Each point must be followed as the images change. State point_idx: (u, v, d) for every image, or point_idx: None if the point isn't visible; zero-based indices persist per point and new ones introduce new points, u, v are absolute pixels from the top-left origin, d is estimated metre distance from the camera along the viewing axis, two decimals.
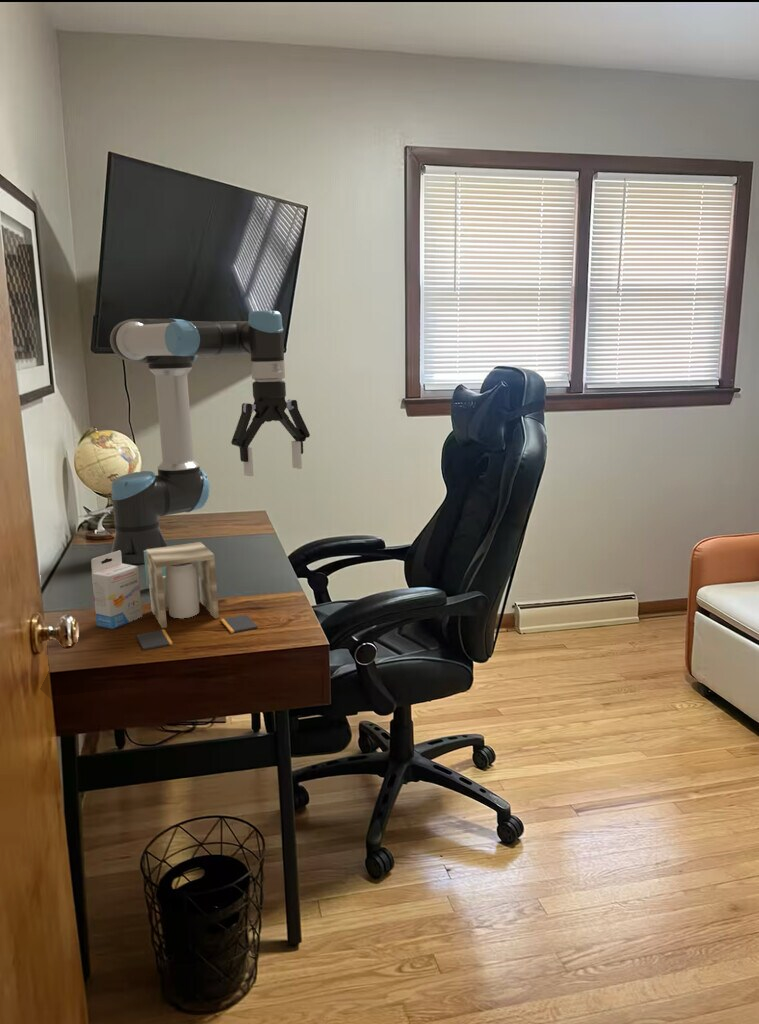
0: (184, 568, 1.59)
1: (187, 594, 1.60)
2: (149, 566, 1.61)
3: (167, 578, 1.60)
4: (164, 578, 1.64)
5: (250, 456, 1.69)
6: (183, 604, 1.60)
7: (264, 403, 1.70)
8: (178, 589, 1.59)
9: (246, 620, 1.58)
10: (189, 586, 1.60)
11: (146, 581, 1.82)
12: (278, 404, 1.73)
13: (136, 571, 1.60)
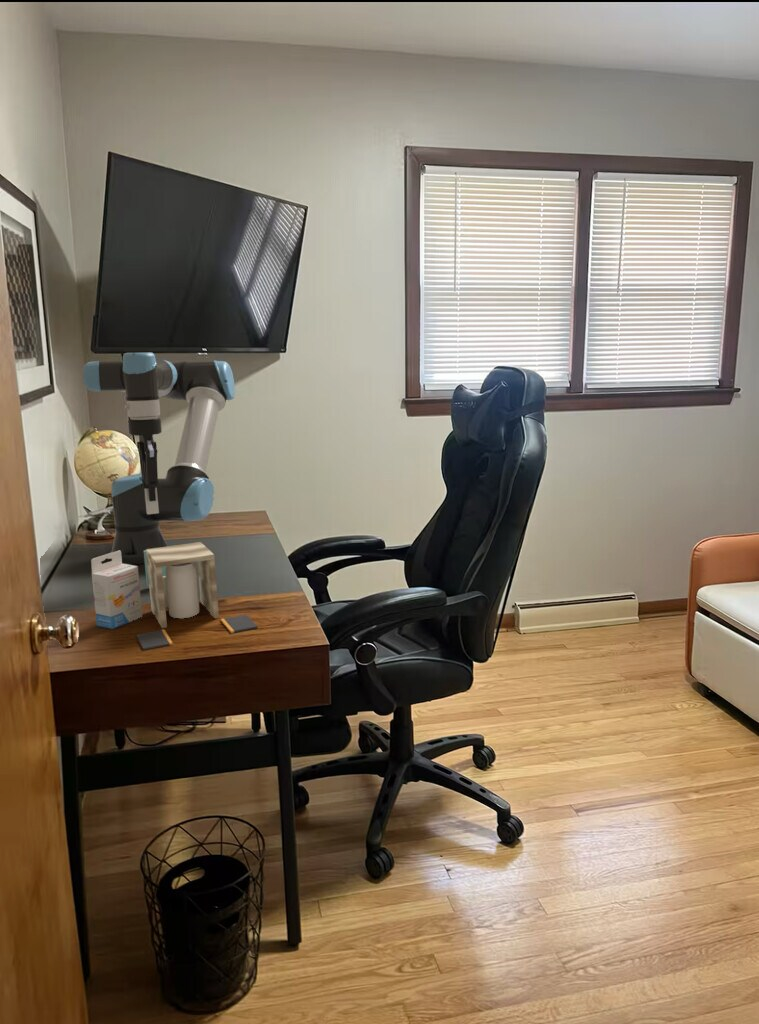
0: (184, 568, 1.59)
1: (187, 594, 1.60)
2: (149, 566, 1.61)
3: (167, 578, 1.60)
4: (164, 578, 1.64)
5: (145, 495, 1.84)
6: (183, 604, 1.60)
7: (139, 436, 1.83)
8: (178, 589, 1.59)
9: (246, 620, 1.58)
10: (189, 586, 1.60)
11: (146, 581, 1.82)
12: (142, 438, 1.79)
13: (136, 571, 1.60)
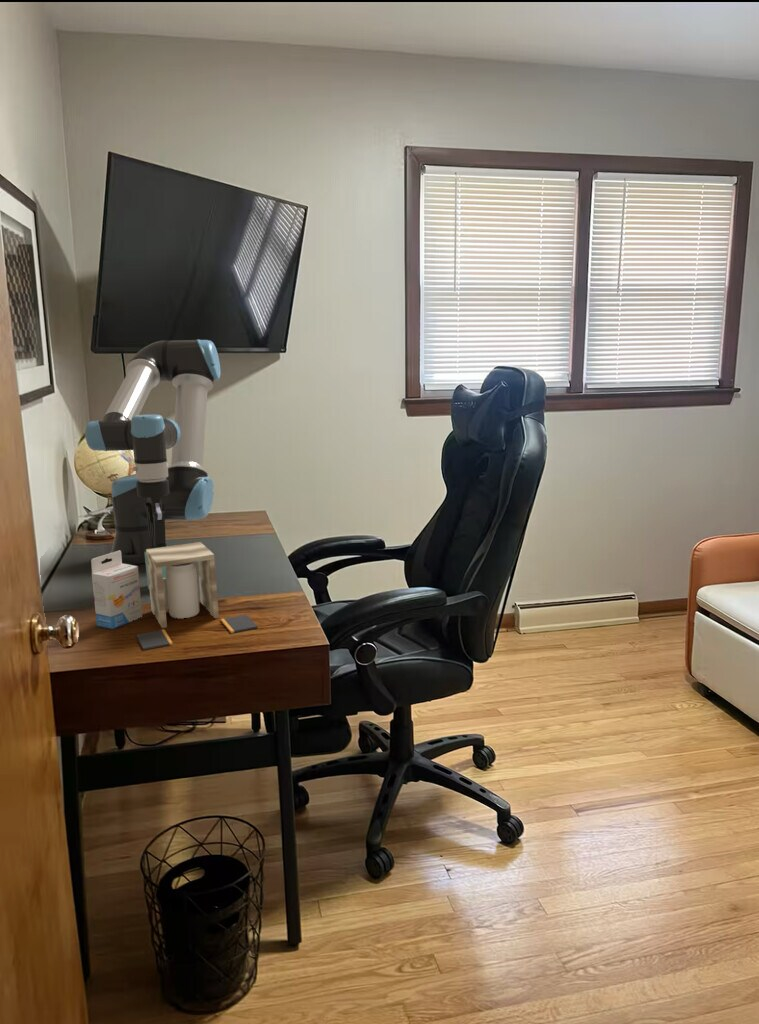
0: (184, 568, 1.59)
1: (187, 594, 1.60)
2: (149, 566, 1.61)
3: (167, 578, 1.60)
4: (165, 579, 1.63)
5: None
6: (183, 604, 1.60)
7: None
8: (178, 589, 1.59)
9: (246, 620, 1.58)
10: (189, 586, 1.60)
11: (147, 582, 1.81)
12: (150, 500, 1.79)
13: (136, 571, 1.60)
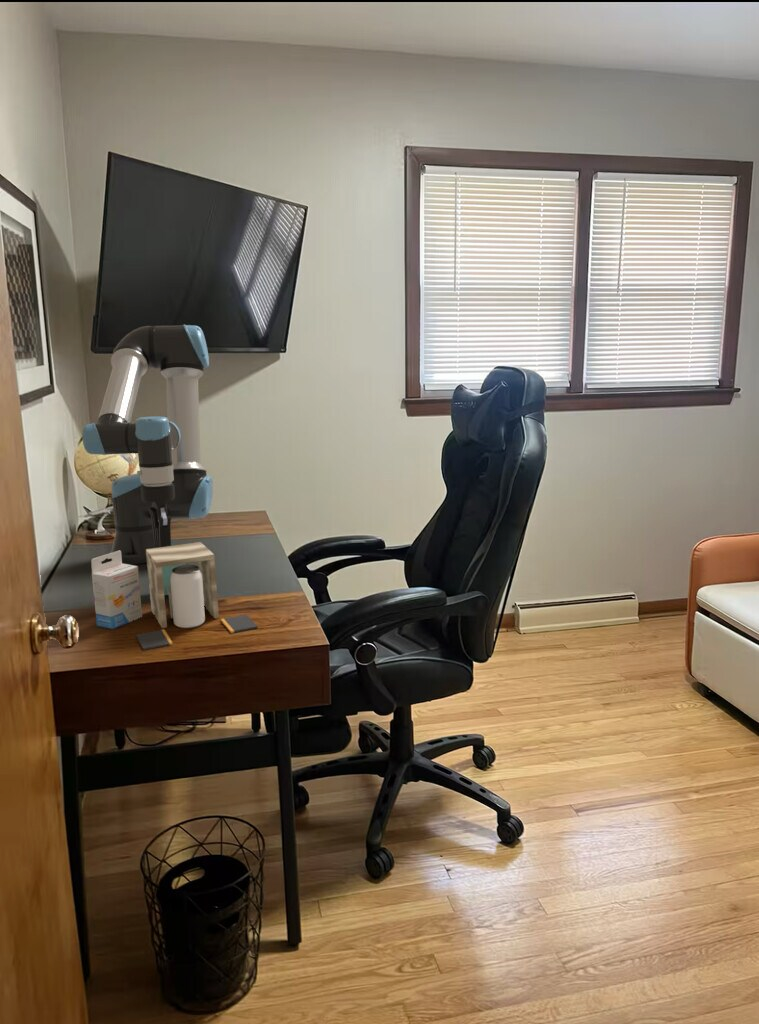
0: (188, 577, 1.53)
1: (191, 603, 1.54)
2: (149, 566, 1.61)
3: (171, 586, 1.54)
4: None
5: None
6: (186, 613, 1.54)
7: (152, 501, 1.77)
8: (182, 598, 1.53)
9: (246, 620, 1.58)
10: (193, 595, 1.54)
11: None
12: (155, 505, 1.73)
13: (136, 571, 1.60)
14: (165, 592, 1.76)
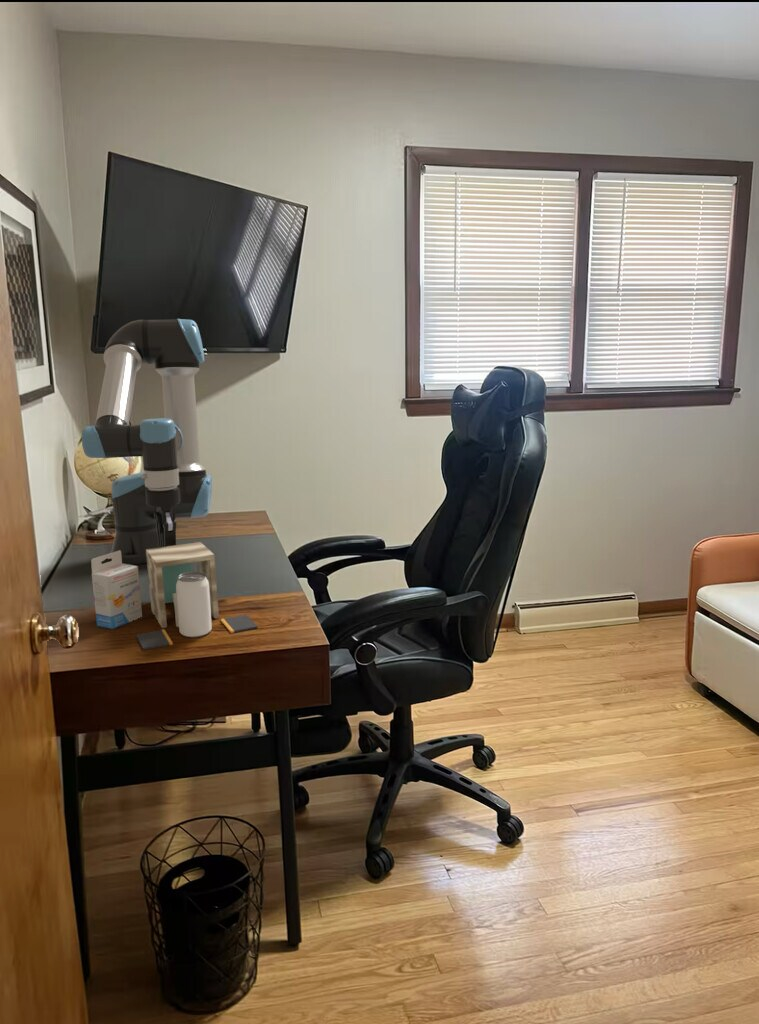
0: (194, 584, 1.48)
1: (197, 611, 1.49)
2: (149, 566, 1.61)
3: (177, 593, 1.49)
4: None
5: None
6: (192, 622, 1.49)
7: None
8: (188, 606, 1.48)
9: (246, 620, 1.58)
10: (199, 603, 1.49)
11: None
12: (160, 509, 1.68)
13: (136, 571, 1.60)
14: (170, 599, 1.71)
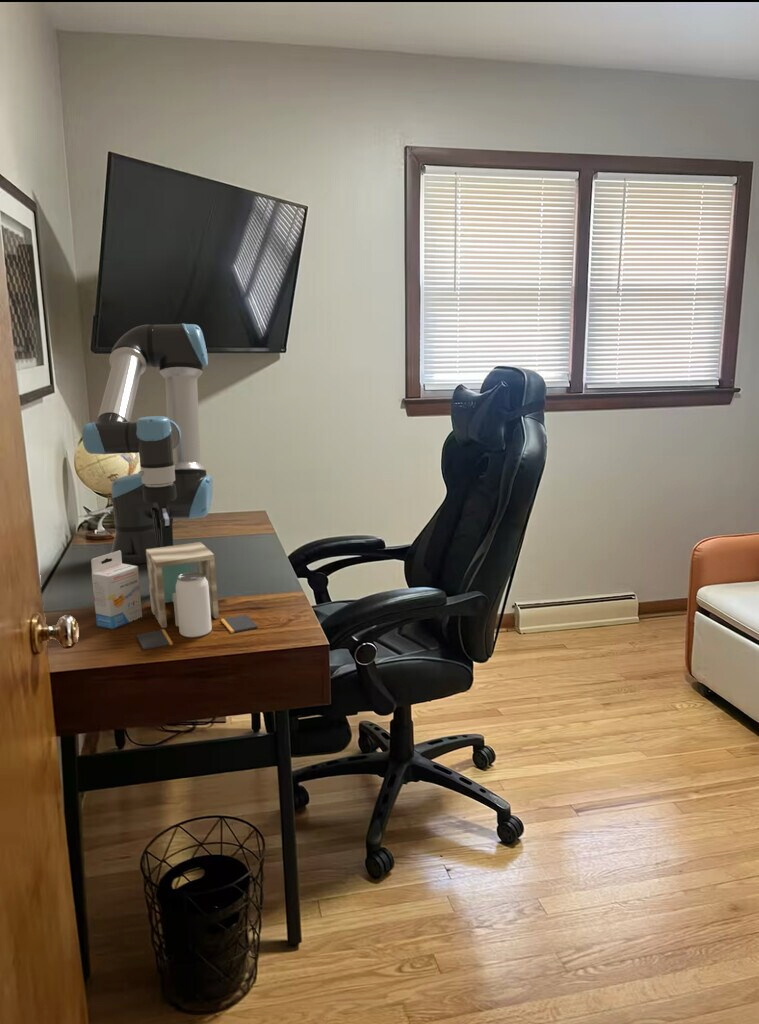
0: (193, 584, 1.48)
1: (197, 611, 1.49)
2: (149, 566, 1.61)
3: (177, 593, 1.50)
4: None
5: None
6: (192, 622, 1.49)
7: None
8: (187, 606, 1.49)
9: (246, 620, 1.58)
10: (199, 602, 1.49)
11: None
12: (157, 505, 1.72)
13: (136, 571, 1.60)
14: (170, 598, 1.71)
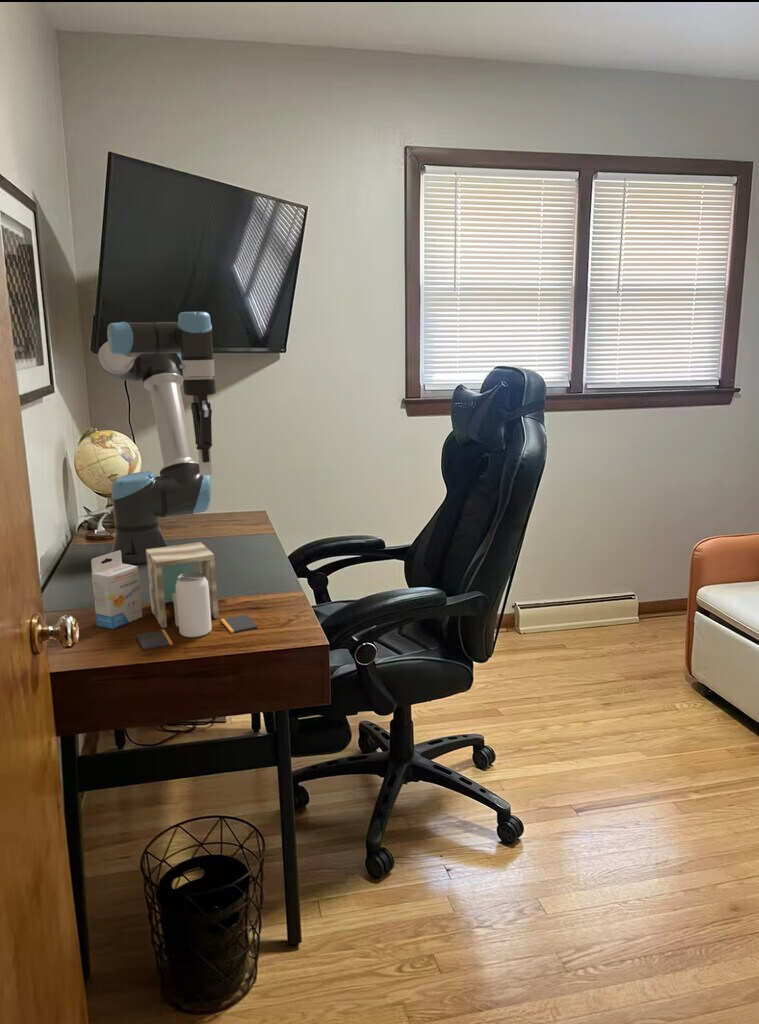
0: (193, 584, 1.48)
1: (196, 611, 1.49)
2: (149, 566, 1.61)
3: (176, 593, 1.50)
4: None
5: None
6: (192, 622, 1.49)
7: (193, 397, 1.83)
8: (187, 606, 1.49)
9: (246, 620, 1.58)
10: (199, 602, 1.49)
11: None
12: (197, 398, 1.79)
13: (136, 571, 1.60)
14: (170, 598, 1.71)
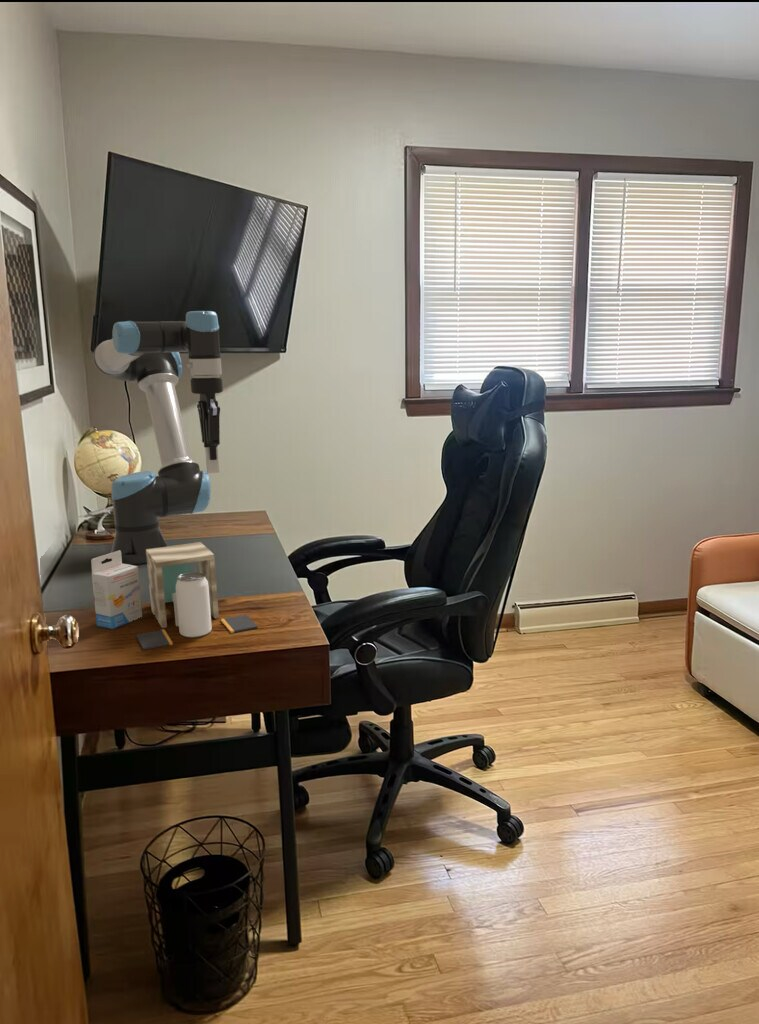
0: (193, 584, 1.48)
1: (197, 611, 1.49)
2: (149, 566, 1.61)
3: (176, 593, 1.50)
4: None
5: None
6: (192, 622, 1.49)
7: (200, 395, 1.85)
8: (187, 606, 1.49)
9: (246, 620, 1.58)
10: (199, 602, 1.49)
11: None
12: (205, 396, 1.80)
13: (136, 571, 1.60)
14: (170, 598, 1.71)
